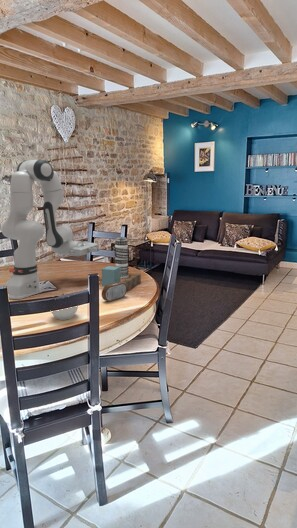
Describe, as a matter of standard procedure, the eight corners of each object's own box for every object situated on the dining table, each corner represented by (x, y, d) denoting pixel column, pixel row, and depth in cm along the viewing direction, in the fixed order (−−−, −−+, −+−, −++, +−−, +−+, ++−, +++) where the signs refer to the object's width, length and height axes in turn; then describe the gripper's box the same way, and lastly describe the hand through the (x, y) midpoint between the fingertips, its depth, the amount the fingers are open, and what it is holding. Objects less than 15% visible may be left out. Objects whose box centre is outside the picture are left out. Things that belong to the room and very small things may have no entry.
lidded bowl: (52, 312, 162) (50, 289, 160) (80, 311, 163) (79, 288, 161) (47, 323, 150) (45, 298, 148) (77, 321, 151) (76, 297, 149)
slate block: (114, 287, 202) (114, 270, 200) (102, 285, 205) (101, 268, 203) (120, 283, 210) (120, 267, 207) (108, 282, 212) (108, 265, 210)
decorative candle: (115, 274, 230) (114, 236, 224) (129, 274, 230) (129, 236, 224) (114, 278, 221) (113, 238, 215) (129, 278, 221) (128, 238, 215)
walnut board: (125, 292, 192) (125, 283, 191) (120, 291, 194) (120, 282, 192) (140, 281, 213) (140, 273, 211) (136, 281, 214) (136, 273, 212)
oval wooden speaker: (123, 295, 187) (123, 280, 185) (127, 296, 185) (127, 281, 183) (101, 302, 176) (100, 285, 175) (105, 303, 174) (104, 287, 172)
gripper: (67, 246, 200) (88, 247, 196) (85, 240, 219) (105, 241, 214) (67, 257, 202) (89, 258, 197) (86, 250, 220) (106, 252, 216)
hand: (97, 249), depth 206 cm, fingers closed
